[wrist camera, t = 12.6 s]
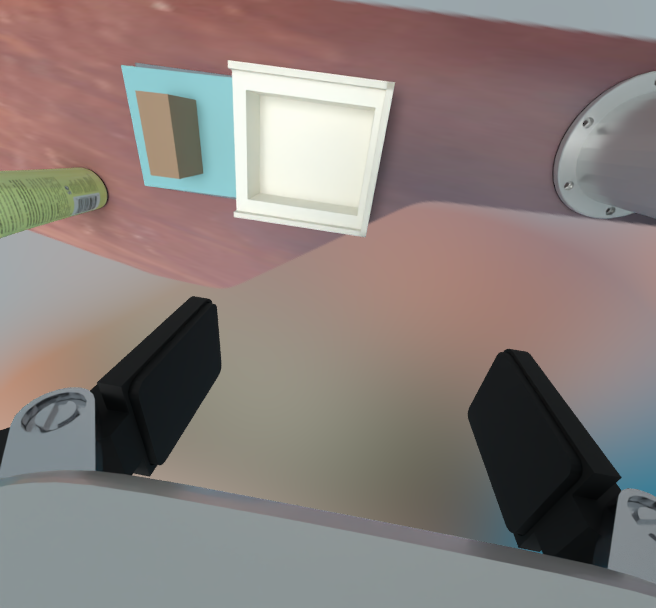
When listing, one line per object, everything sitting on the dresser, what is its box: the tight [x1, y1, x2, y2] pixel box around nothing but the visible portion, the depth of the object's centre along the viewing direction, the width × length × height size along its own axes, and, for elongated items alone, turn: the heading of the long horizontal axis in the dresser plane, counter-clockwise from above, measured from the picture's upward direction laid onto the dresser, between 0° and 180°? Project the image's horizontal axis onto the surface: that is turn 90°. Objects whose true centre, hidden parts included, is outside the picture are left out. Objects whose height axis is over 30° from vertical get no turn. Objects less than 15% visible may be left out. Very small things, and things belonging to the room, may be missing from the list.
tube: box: [0, 168, 107, 238], centre depth 29 cm, size 6×5×20 cm
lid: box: [121, 65, 236, 198], centre depth 30 cm, size 12×11×6 cm
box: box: [228, 60, 395, 237], centre depth 30 cm, size 14×13×6 cm
